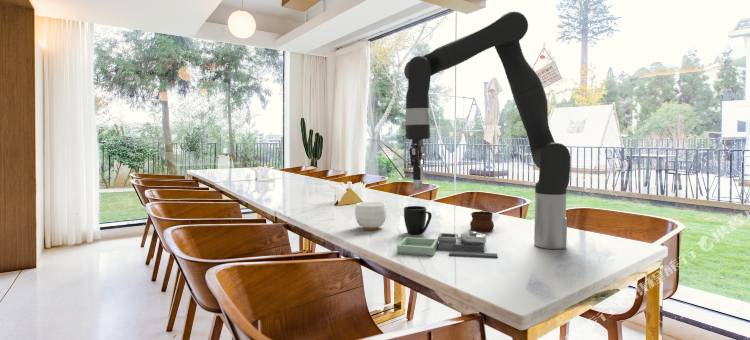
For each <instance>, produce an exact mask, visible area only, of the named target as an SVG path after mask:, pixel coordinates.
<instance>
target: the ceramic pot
mask: <svg viewBox="0 0 750 340" xmlns="http://www.w3.org/2000/svg"><path fill="white" fill-rule="evenodd" d="M470 215H471V220H470V223H469V226H470V227H469V228H470V230H471V231H475V232H476V231H477V233H489V232H492V231H493V230H494V227H495V223H494V222H493V212H491V211H483V210H481V211H478V210H477V211H473V212H471V213H470Z"/></svg>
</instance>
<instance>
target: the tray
mask: <svg viewBox="0 0 750 340" xmlns="http://www.w3.org/2000/svg"><path fill="white" fill-rule="evenodd" d="M438 243H439V242H438V238H429V237H428V238H425V237H413V236H412V237H411V236H409V237H408V236H405V237H404V238H403V239H402V240H401V241H400V242H399V243H398V244H397V246H396V247H397V248H396V253H398V255H409V254H410V255H413V256H424V257H425V255H430V256H429V257H433V256H434V255H435V254H436V252H435V251H437V250H438ZM399 253H400V254H399ZM410 255H409V256H410Z"/></svg>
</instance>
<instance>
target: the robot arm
mask: <svg viewBox="0 0 750 340" xmlns="http://www.w3.org/2000/svg"><path fill="white" fill-rule="evenodd" d="M528 29H529V23H528V19H527V17H526V16H525V15H524V14H523V13H521V12H519V11H509V12H506V13H504V14H502V15H501V16H500V17H499V18H498V19H496V20H495V21H493V22H492V23H490V24H489V25H487V26H485V27H483V28H481V29H478V30H477V31H475V32H473V33H469V34H468V35H465V36H462V37H461V38H458V39H456V40H454V41H453V40H452V41H450V42H449V43H448V42H447V43H446V44H443V45H441V46H439V47H437V48H435V49H434V50H433V51H431V52H428V53H426V54H424V55H417V56H413V57H412V58H411V59H410V60H409V61H408V62H407V63H406V64H405V66H404V69H403V70H404V71H403V72H404V73H403V74H404V76H405V78H406V79H407V83H408V84H407V85H408V86H407V92H406V95H405V117H404V118H405V119H404V120H405V125H404V127H405V128H404V129H405V139H406V140H411V145H410V147H409V159H410V165H411V167H412V180H413V179H414V180H420V179H421V160H422V179H423V175H424V173H423V167H424V165H425V158H426V157H425V156H426V149H427V148H426V145H425V144H424V140H429V139H430V138H431V116H430V98H429V97H430V96H429V95H430V94H429V93H430V85H431V78H432V76H434V75H436V74H438V73H439V72H442V71H446V70H448V69H450V68H453V67H456V66H457V65H460V64H462V63H464V62H466V61H468V60H469V59H472V58H473V57H475V56H477V55H478V54H481V53H482V52H484V51H486V50H488V49H491V48H494V49H495V50H496V53H497V54H498V57H499V59H500V61H501V64H502V67H503V70H504V73H505V76H506V78H507V83H508V84H509V88H510V90H511V94H512V97H513V101H514V103H515V106H516V109H517V112H518V114H519V117H520V119H521V122H522V125H523V127H524V129H525V132H526V136H527V139H528V145H529V150H530V153H531V157H532V161H533V163H534V164H535V166H536V167H537V168H538V169H539V174H538V175H539V176H538V181H537V182H536V183H535V186H534V231H533V232H534V237H533V240H534V242H533V243H534V246H536V247H538V248H542V249H547V250H549V249H550V250H560V249H567V243H568V241H567V240H568V239H567V237H568V235H567V234H568V233H567V232H568V218H567V190H568V189H567V188H568V186H569V184H570V180H571V179H570V176H571V152H570V151H569V149H568V147H567V146H566V145H564V144H563V143H559V142H555V139H554V137H553V135H552V132H551V129H550V126H549V125H550V124H549V119H548V118H549V117H548V116H549V113H548V111H549V110H548V108H549V106H548V99H547V94H546V92H545V89H544V85H543V82H542V81H541V79H540V76H539V75H538V73H537V71H535V69H534V68H533V67H532V66H531V65H530V64H529V63H528V61H527V59H526V58H525V56H524V55H525V54H523V49H522V46H521V43H520V41H521V40H522V39H523V38H524V37H525V36H526V33H528ZM423 154H424V157H423ZM419 156H420V157H419ZM415 160H417V162H415Z"/></svg>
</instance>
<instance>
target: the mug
mask: <svg viewBox="0 0 750 340" xmlns="http://www.w3.org/2000/svg"><path fill="white" fill-rule="evenodd" d="M432 215H433V214H432V212H430V211H427V207H425V206H423V205H422V206H419V205H408V206H405V207H403V218H404V219H403V220H404V223H405V224H404V225H405V227H406V231H407V234H408V235H411V236H413V235H414V236H415V235H416V236H417V235H423V234H424V233H425V232H426V231H427V229H428V227H429V225H430V223H431V220H432Z"/></svg>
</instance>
